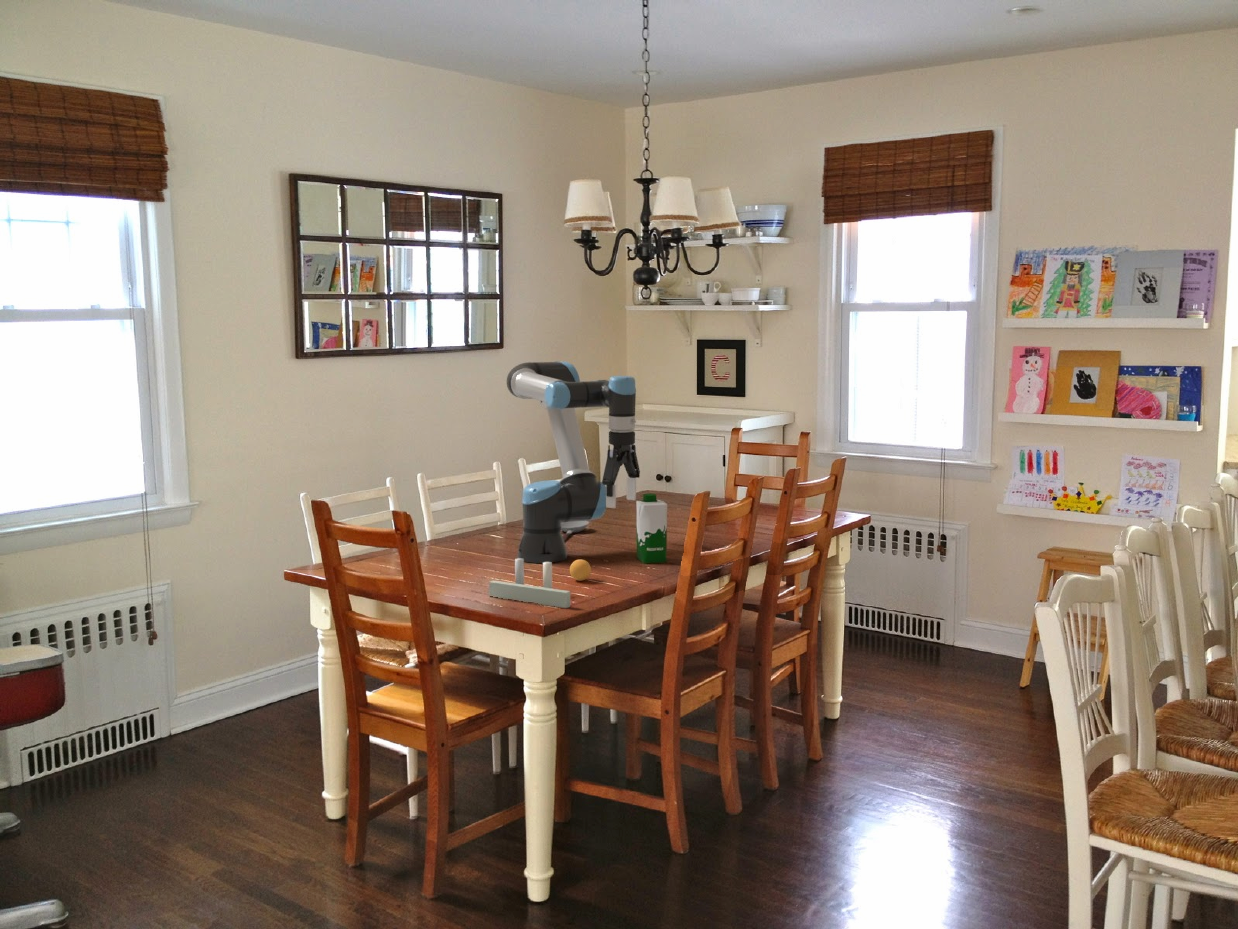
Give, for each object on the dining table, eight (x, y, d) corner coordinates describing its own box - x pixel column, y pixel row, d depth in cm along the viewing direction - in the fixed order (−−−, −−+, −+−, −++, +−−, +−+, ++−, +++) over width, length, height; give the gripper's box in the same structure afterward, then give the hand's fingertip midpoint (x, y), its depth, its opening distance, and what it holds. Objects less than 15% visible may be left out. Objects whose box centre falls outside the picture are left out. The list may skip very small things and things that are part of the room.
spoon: (592, 528, 383) (591, 519, 383) (571, 552, 351) (570, 543, 351) (562, 529, 385) (561, 521, 385) (538, 553, 353) (537, 544, 353)
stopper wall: (489, 596, 291) (488, 582, 291) (493, 595, 293) (493, 580, 293) (566, 608, 280) (566, 592, 279) (570, 606, 282) (570, 591, 281)
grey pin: (513, 590, 298) (513, 559, 297) (518, 588, 300) (518, 557, 299) (520, 591, 297) (520, 560, 296) (525, 589, 299) (525, 558, 298)
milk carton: (660, 556, 339) (661, 492, 337) (670, 563, 331) (670, 497, 328) (633, 558, 337) (633, 494, 334) (642, 564, 328) (642, 498, 326)
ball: (565, 581, 308) (565, 560, 307) (576, 577, 313) (576, 556, 312) (584, 584, 305) (584, 562, 304) (595, 579, 310) (594, 558, 309)
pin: (541, 594, 294) (541, 563, 293) (546, 592, 296) (546, 561, 295) (549, 595, 293) (548, 564, 292) (553, 593, 295) (553, 562, 294)
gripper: (614, 436, 301) (614, 512, 304) (651, 426, 323) (650, 497, 326) (590, 434, 304) (589, 509, 307) (628, 425, 326) (627, 495, 330)
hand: (621, 503), depth 317 cm, fingers open, 13 cm apart
